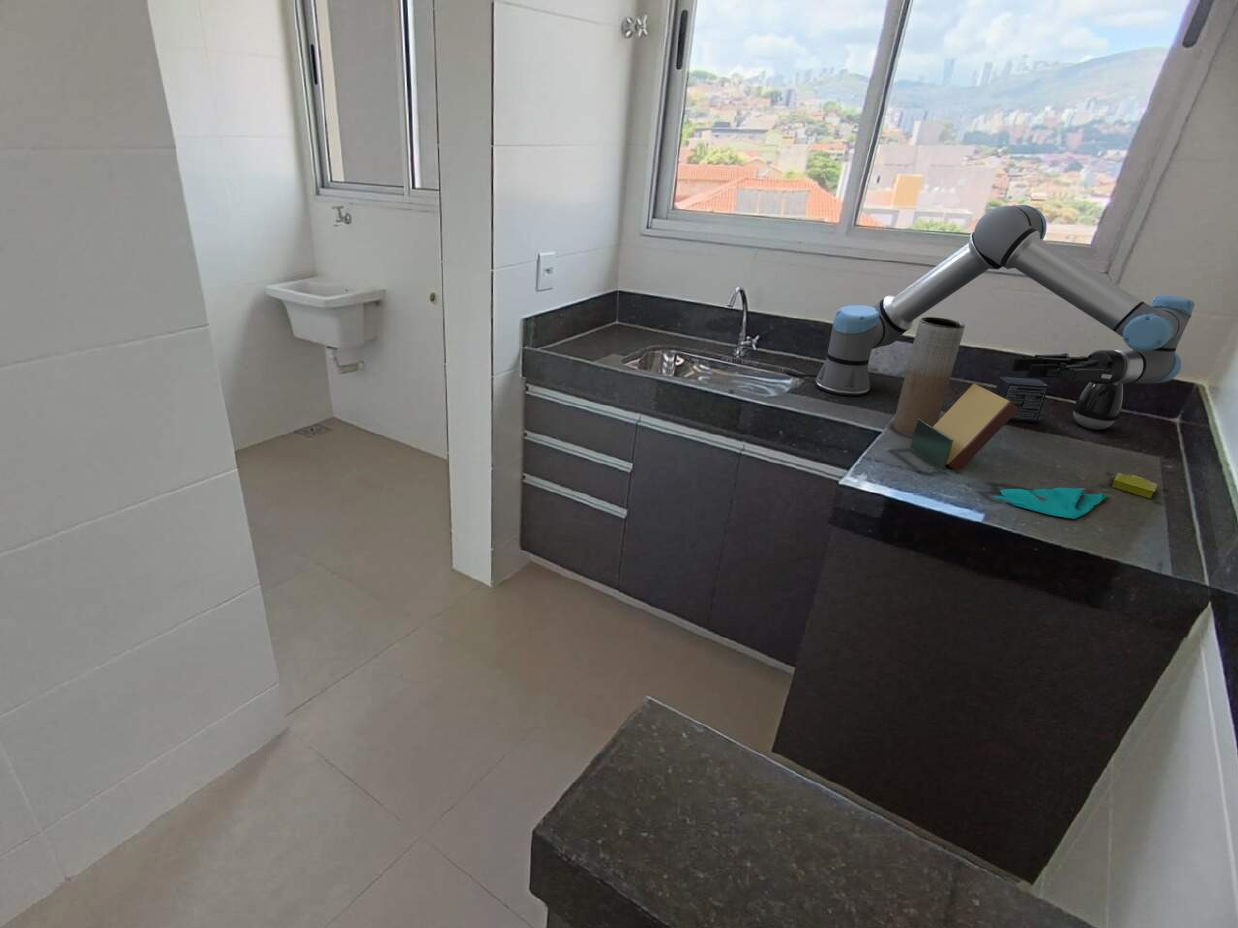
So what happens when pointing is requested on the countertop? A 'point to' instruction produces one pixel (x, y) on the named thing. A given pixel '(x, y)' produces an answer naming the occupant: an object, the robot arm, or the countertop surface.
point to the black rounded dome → (1098, 405)
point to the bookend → (931, 444)
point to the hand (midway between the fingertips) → (1022, 367)
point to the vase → (928, 372)
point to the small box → (1023, 396)
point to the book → (973, 423)
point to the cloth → (1053, 501)
